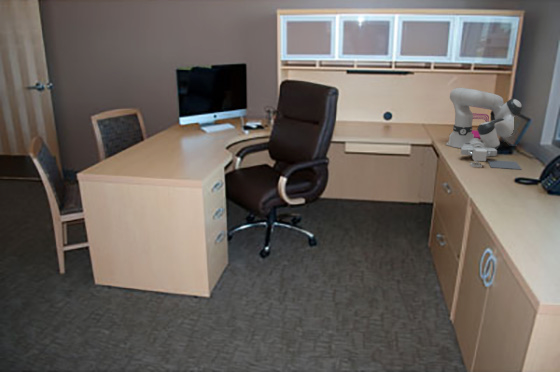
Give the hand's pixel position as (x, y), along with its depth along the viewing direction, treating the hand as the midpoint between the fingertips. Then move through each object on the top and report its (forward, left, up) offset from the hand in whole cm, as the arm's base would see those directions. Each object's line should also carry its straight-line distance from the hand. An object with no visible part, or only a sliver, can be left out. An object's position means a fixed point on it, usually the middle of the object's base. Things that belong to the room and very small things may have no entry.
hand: (479, 154), depth 267 cm
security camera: (+6, -1, -6) cm, 9 cm away
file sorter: (-82, +5, -6) cm, 82 cm away
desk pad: (0, +14, -5) cm, 15 cm away
